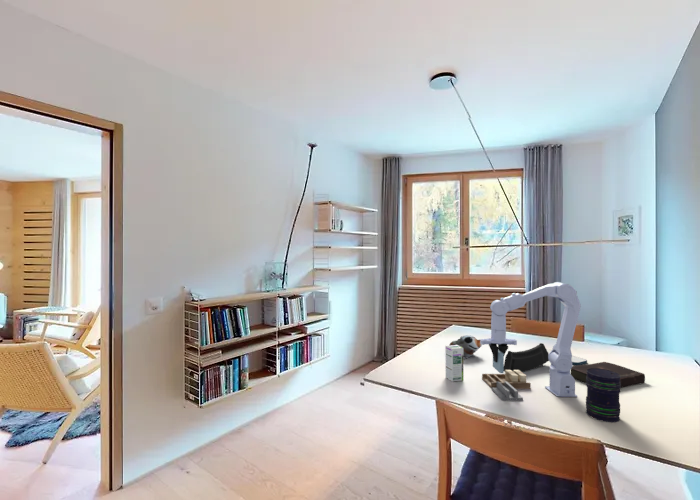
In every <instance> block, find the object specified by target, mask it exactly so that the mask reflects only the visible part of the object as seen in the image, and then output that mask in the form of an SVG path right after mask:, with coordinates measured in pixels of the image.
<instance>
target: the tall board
mask: <svg viewBox="0 0 700 500" xmlns="http://www.w3.org/2000/svg"><path fill="white" fill-rule="evenodd" d="M504 362H505V355H504V354H503V353H502V352H501V351H499V349H498V361H497V362H495V361H494V358H493V357H492V367H493V368H494V370H496V371H497V372H498V374H505V372H504Z"/></svg>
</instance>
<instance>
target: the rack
mask: <svg viewBox="0 0 700 500" xmlns="http://www.w3.org/2000/svg"><path fill="white" fill-rule="evenodd" d="M481 379H482V380H483V381H484V382H485V384H487V386H489V387H490V389H492V388H497V381H499V382H500V383H501V384H502V385H503V386H504V382H508V381H507V380H506V379H505V373H481ZM508 383H509V384H510V385H511V386H513V387H514V388H515V389H516V390H517V389H519V390H531V389H532V388H531V386H532V385H531V382H526V383H518V382H508Z"/></svg>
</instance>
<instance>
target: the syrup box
mask: <svg viewBox="0 0 700 500" xmlns="http://www.w3.org/2000/svg"><path fill="white" fill-rule="evenodd" d="M449 345H450V344H449ZM449 345H445V353H444V355H445V378H446V379H447V378H448V379H447V380H449V381H450V380H451V381H450V382H453V383H454V382H460V381H461V382H462V381H464V358H463V347H461V346H459V345H450V346H449Z"/></svg>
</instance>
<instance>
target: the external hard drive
mask: <svg viewBox="0 0 700 500" xmlns="http://www.w3.org/2000/svg"><path fill="white" fill-rule="evenodd" d="M546 350H547V352H548V355H549V353H550V352H551V351H552V349H549V348H546ZM571 360H572V366H576V365H588V360H587V358H584V357H580V356H576V355H573V354H572V358H571Z"/></svg>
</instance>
